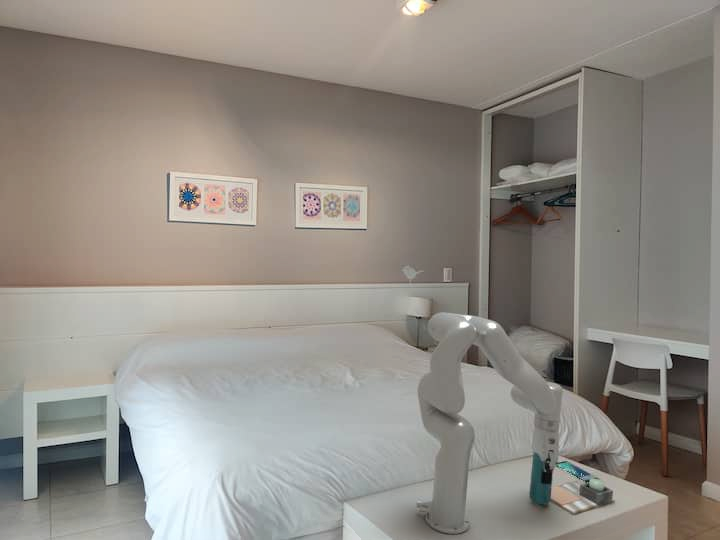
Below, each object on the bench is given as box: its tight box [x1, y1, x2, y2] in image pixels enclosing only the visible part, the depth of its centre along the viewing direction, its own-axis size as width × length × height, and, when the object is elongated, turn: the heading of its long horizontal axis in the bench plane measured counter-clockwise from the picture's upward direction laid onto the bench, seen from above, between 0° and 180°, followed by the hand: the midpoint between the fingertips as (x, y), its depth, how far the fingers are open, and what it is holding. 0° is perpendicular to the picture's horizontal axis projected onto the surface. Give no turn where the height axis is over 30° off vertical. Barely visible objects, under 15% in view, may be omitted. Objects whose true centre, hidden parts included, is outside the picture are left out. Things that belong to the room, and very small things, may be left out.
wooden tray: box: [550, 480, 616, 516], centre depth 168 cm, size 20×14×4 cm
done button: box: [589, 478, 605, 493], centre depth 167 cm, size 4×4×3 cm
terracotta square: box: [550, 485, 581, 506], centre depth 167 cm, size 9×9×1 cm
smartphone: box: [556, 460, 600, 483], centre depth 187 cm, size 7×1×15 cm
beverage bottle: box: [529, 452, 554, 505], centre depth 162 cm, size 6×7×20 cm
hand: (541, 477), depth 162 cm, fingers closed on beverage bottle, 6 cm apart
